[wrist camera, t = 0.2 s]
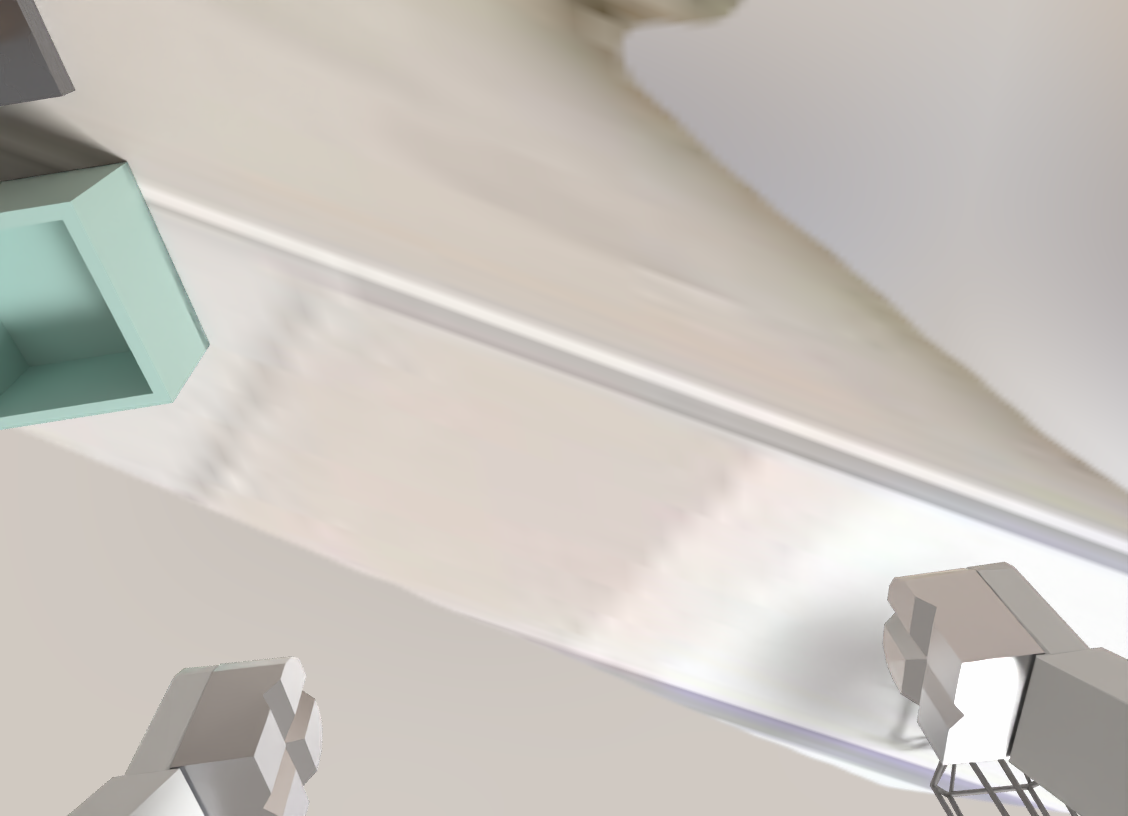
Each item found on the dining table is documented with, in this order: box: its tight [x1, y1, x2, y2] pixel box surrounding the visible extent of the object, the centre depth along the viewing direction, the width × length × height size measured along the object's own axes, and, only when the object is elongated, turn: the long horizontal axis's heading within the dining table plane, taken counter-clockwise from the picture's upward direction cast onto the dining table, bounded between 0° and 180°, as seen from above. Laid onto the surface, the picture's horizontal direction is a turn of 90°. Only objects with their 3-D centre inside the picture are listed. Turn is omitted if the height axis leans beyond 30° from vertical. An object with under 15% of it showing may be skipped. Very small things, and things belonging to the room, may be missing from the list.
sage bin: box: [0, 162, 210, 430], centre depth 43 cm, size 12×12×7 cm
